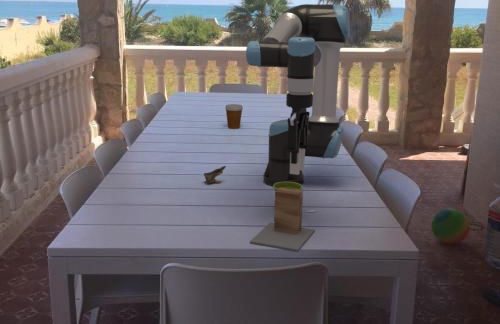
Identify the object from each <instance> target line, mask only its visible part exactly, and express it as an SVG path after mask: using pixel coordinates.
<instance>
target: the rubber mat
mask: <svg viewBox="0 0 500 324" xmlns="http://www.w3.org/2000/svg"><path fill="white" fill-rule="evenodd" d="M315 231H316V230H315V229H313V228H309V227H307V228H306V227H303V226H301V231H300V232H299V233H298V234H297V235H296V234H290V233H284V232H277V231H274V222H269V223H267V225H265V226H264V227H263V228H262V229H261V230H260V232H258V233H257V234H256V235H255V236H254V237H253V238H252V239H250V241H249V244H253V245H258V246H264V247H270V248H275V249H281V250H286V251H287V250H288V251H292V252H299V251H300V250H301V248H303V246H304V245H305V244H306V243H307V242H308V240H309V239H310V238H311V237H312V235H313V234H314V233H315Z"/></svg>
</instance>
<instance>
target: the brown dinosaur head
mask: <svg viewBox="0 0 500 324" xmlns="http://www.w3.org/2000/svg"><path fill="white" fill-rule="evenodd" d="M226 167H227V165H224V166H221V167H219V168H216V169H214V170H212V171H210V172H204V173H203V176H204V178H205V182H207V183H208V184H221V183H220V182H221V181H220V180H217V179H216V178H217V177H219V176H221V175H222V174H223V173H224V170H225V169H226ZM213 182H215V183H213Z"/></svg>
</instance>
